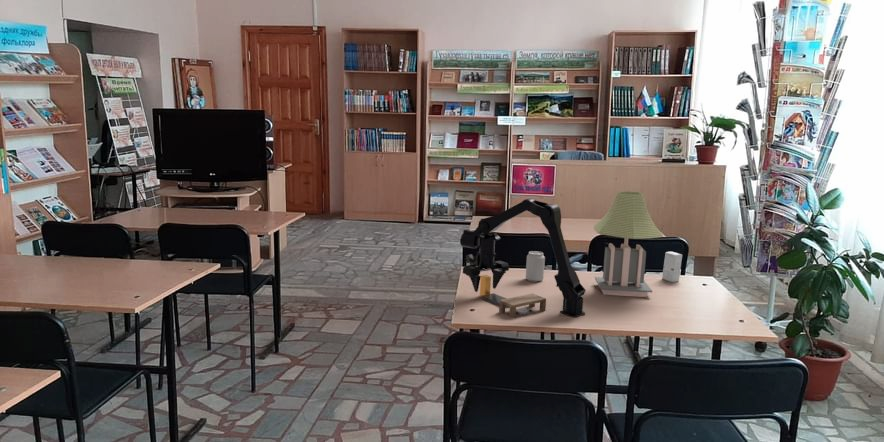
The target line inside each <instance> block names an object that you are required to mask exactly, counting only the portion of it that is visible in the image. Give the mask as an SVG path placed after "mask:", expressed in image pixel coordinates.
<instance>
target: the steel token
mask: <svg viewBox="0 0 884 442" xmlns="http://www.w3.org/2000/svg"><path fill="white" fill-rule="evenodd" d="M533 313H534V311H533V310H530V309H528V308H526V307H519V308H516V314H520V315H522V316H524V315H529V314H533Z"/></svg>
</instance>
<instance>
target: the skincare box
mask: <svg viewBox="0 0 884 442" xmlns="http://www.w3.org/2000/svg"><path fill="white" fill-rule="evenodd" d="M664 254H665V255H664V261H663V269H662V276H661V278H662V280H665V281H668V282H671V283H676V282H679V281H680V276H681V275H680V274H681V268H682V259H683V254H681V253H678V252H674V251H666V252H665V253H664Z"/></svg>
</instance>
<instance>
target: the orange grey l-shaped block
mask: <svg viewBox="0 0 884 442" xmlns="http://www.w3.org/2000/svg"><path fill="white" fill-rule="evenodd" d="M480 276H481V277H480V283H479V288H480V289H479V297H480V299H481V300H484V301H486V302H488V303H491V304H494V305H496V306H498V307H499V304H500V300H503V299H508V298H507V297H504V296H501V295H499V294H496V293H491V283H492V276H489V275H487V274H484V275H480ZM507 308H509V309H510V307H509V306H506V305H505V309H507Z"/></svg>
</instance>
